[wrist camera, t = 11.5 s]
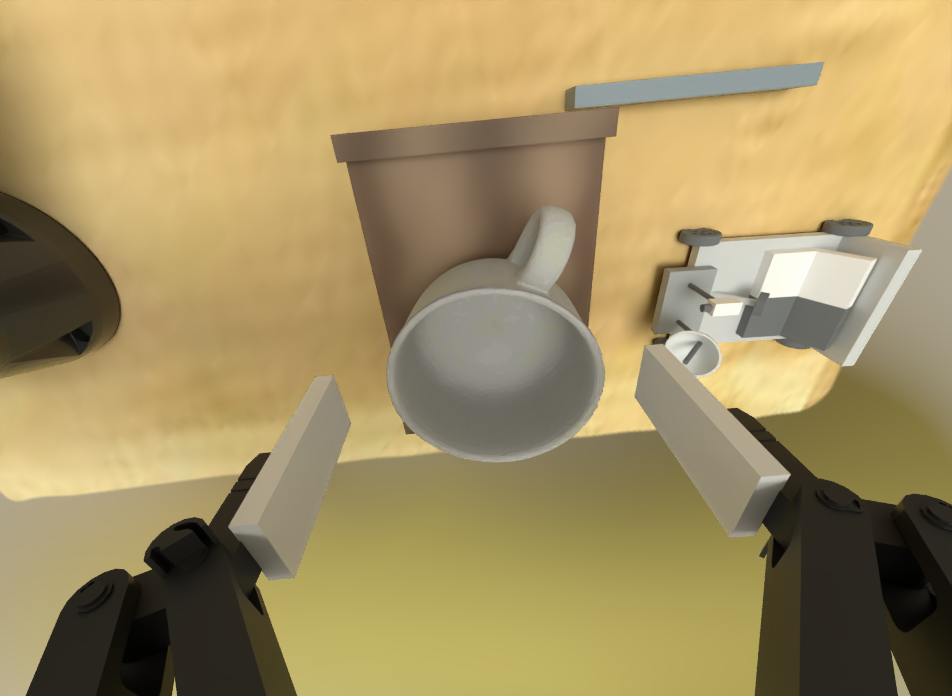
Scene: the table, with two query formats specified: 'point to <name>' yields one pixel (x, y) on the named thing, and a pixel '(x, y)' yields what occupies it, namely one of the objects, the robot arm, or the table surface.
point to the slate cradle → (693, 86)
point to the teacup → (499, 353)
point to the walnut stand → (473, 197)
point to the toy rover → (779, 292)
